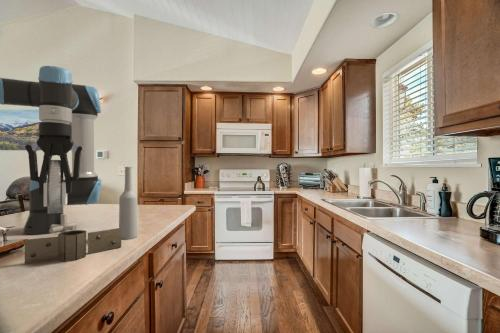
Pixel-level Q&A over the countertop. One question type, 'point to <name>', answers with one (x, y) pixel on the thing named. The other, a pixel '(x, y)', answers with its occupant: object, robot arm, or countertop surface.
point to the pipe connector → (63, 225)
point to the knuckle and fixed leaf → (57, 247)
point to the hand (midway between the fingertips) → (55, 205)
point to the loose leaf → (104, 240)
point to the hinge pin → (55, 186)
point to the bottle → (128, 208)
